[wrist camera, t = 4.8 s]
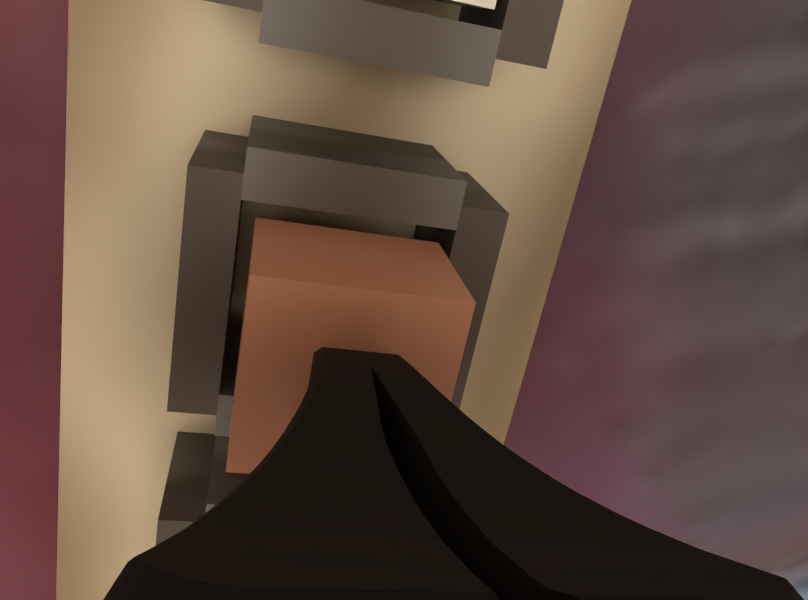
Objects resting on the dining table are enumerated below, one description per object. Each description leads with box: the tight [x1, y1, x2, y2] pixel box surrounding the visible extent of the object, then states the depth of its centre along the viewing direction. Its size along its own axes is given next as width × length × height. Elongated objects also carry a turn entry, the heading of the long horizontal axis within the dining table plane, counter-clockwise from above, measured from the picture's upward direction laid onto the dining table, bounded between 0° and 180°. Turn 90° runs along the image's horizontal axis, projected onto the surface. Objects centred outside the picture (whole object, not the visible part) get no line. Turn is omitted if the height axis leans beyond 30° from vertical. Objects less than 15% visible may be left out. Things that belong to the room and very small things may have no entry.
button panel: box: [56, 0, 631, 600], centre depth 17 cm, size 12×26×5 cm, turn 169°
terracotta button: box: [226, 217, 476, 474], centre depth 13 cm, size 4×4×3 cm
